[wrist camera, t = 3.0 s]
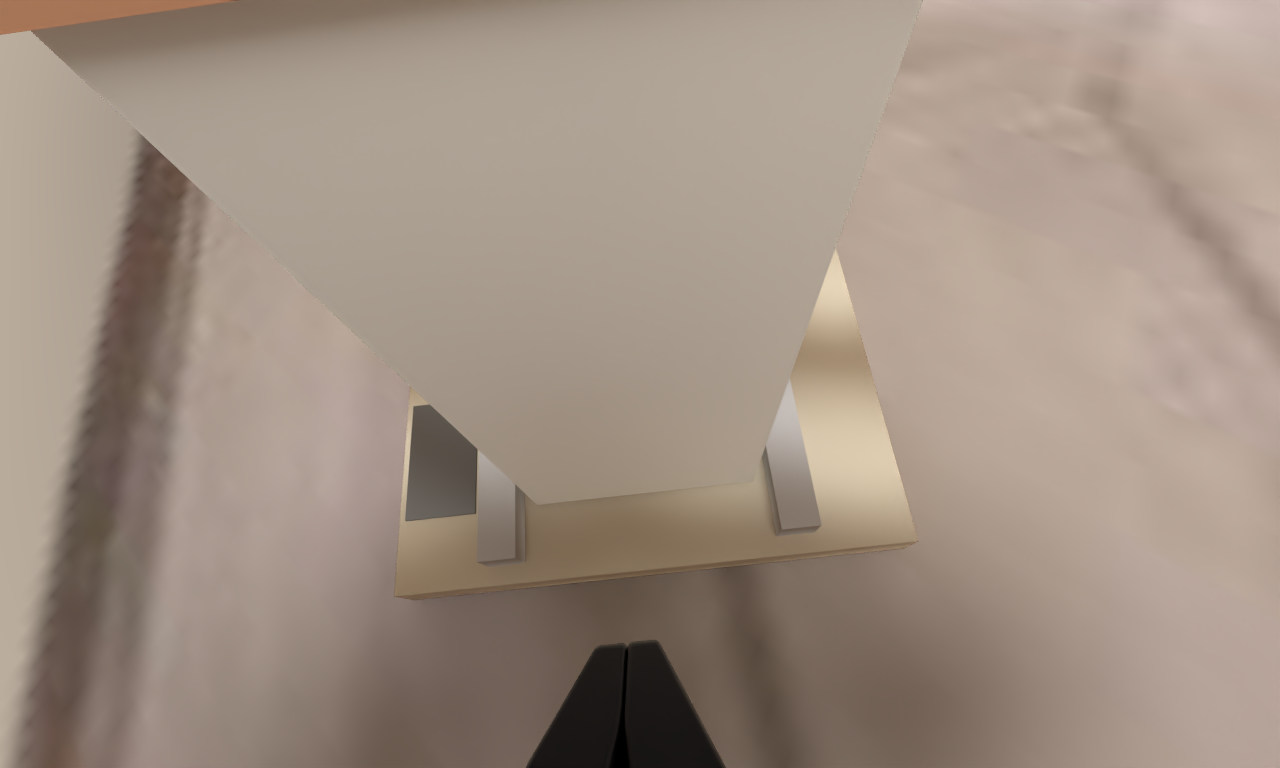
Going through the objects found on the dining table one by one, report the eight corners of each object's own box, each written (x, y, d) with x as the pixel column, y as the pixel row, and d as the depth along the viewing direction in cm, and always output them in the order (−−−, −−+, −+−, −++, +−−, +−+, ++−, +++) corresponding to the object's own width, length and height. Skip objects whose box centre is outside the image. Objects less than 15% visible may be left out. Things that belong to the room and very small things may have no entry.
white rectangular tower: (761, 487, 16) (1127, -382, 3) (530, 512, 16) (-264, -159, 3) (736, 346, 18) (869, -602, 4) (528, 370, 18) (42, -457, 5)
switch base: (903, 548, 17) (948, 526, 14) (412, 599, 17) (355, 589, 14) (806, 190, 22) (824, 119, 19) (436, 237, 22) (398, 176, 20)
